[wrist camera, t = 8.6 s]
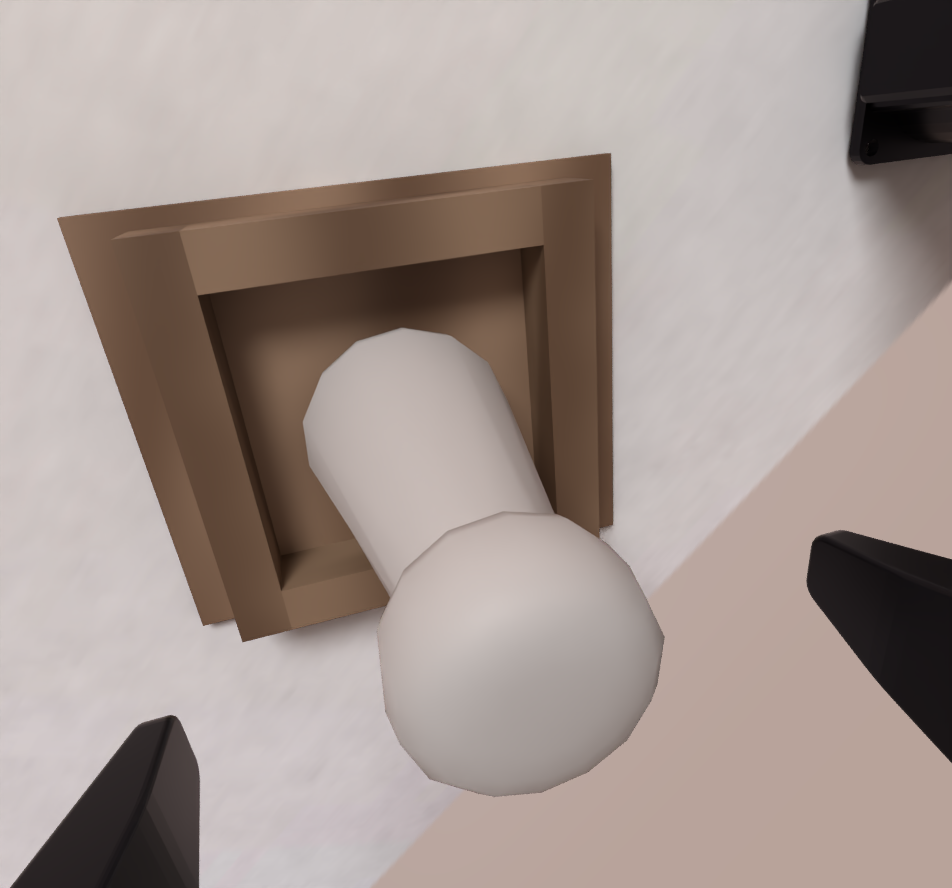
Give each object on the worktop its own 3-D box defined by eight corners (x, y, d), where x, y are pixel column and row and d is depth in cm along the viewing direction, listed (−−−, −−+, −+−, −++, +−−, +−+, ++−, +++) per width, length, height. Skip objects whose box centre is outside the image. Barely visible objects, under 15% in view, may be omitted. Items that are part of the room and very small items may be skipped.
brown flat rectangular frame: (604, 153, 19) (644, 152, 17) (608, 519, 25) (638, 552, 23) (61, 217, 16) (29, 225, 14) (204, 618, 22) (196, 667, 20)
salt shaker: (440, 504, 22) (614, 874, 11) (275, 457, 20) (270, 864, 8) (513, 349, 21) (806, 588, 9) (342, 279, 18) (447, 481, 7)
